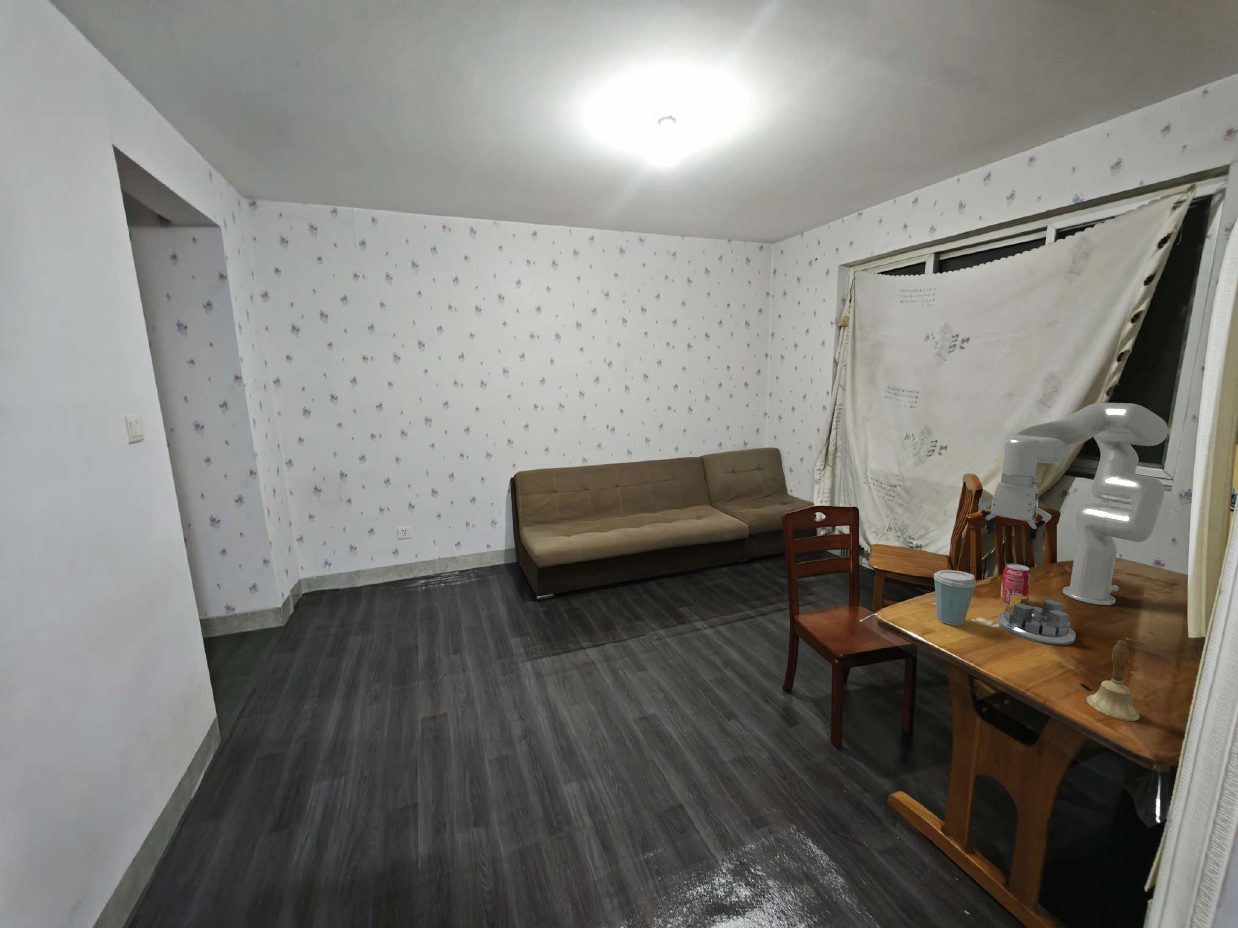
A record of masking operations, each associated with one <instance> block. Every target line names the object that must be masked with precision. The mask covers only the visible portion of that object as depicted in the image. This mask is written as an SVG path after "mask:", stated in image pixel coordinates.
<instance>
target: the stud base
mask: <svg viewBox="0 0 1238 928" xmlns="http://www.w3.org/2000/svg"><path fill="white" fill-rule="evenodd" d="M1004 615H1005V611H1004V612H1000V613H999V614H998V617H997V624H998V625H999V626H1000V627H1001V628H1002V629H1004V630H1005V631H1007V632H1009V634H1010V633H1011V634H1013V635H1015V636H1017V637H1020V638H1022V639H1025V640H1027V641H1030V642H1031V641H1032V642H1034V643H1039V644H1045V645H1052V646H1068V645H1069V646H1070V645H1072V644H1073V643H1075V641H1076V636H1077V635H1076V632H1075V631H1074V630H1073V628H1071V627H1070V629H1069V633H1068V635H1066V636H1059V637H1058V636H1055V637H1054V636H1046V635H1041V634H1040V633H1039V634H1036V633H1032V632H1029V631H1025V629H1020V628H1018V627H1016V626H1014V625H1012V624H1011V623H1009V622H1008V621H1007V620H1006V619H1005V617H1004ZM1047 617H1048V615H1047V614H1045V613H1043V612H1040V611H1036V610H1033V614H1032V619H1034V620H1037V621H1044V622H1047Z"/></svg>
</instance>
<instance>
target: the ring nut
mask: <svg viewBox="0 0 1238 928" xmlns="http://www.w3.org/2000/svg"><path fill="white" fill-rule="evenodd" d="M1029 602H1030V597H1028V598H1027V597H1025V596H1022V595H1020V594H1015V595H1011V597H1010V603H1009V605H1008V606H1006V607H1005V610H1004V612H1005V615H1004V617H1005V619H1006V620H1007V621H1008V622H1009V623H1011V624H1012V625H1014V626H1016V627H1018V628H1020V629H1025V631H1029V632H1032V633H1036V634H1039V633H1040V634H1041V635H1046V636H1054V637H1055V636H1058V637H1059V636H1066V635H1068V633H1069V629H1070V628H1071V621H1070V620H1069V614H1068V613H1066V612H1064V611H1063V605H1064V604H1063V603H1061V602H1058V601H1056V600H1054V599H1047V600H1043V602H1042V603H1043V604H1042V608H1041V607H1037V606H1032V605H1029ZM1033 610H1036V611H1040V612H1043V613H1045V614H1047V615H1048V617H1047V622H1044V621H1037V620H1034V619H1032V614H1033Z"/></svg>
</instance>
